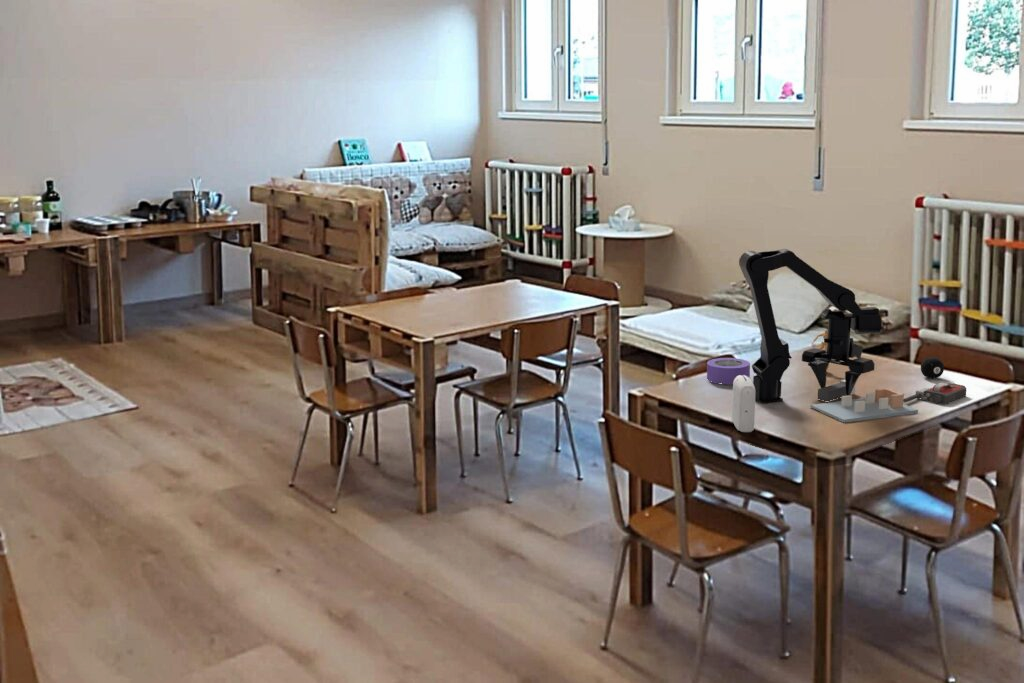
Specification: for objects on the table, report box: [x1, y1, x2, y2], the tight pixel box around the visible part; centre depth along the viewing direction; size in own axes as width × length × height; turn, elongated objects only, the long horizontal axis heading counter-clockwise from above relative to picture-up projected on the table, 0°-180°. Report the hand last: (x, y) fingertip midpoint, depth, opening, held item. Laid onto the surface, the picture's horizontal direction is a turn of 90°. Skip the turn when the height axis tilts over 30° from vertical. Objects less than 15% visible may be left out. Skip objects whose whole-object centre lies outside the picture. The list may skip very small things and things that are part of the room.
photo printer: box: [731, 375, 756, 433], centre depth 273 cm, size 10×4×12 cm, turn 179°
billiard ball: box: [920, 356, 945, 380], centre depth 315 cm, size 6×6×6 cm
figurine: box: [811, 329, 830, 370], centre depth 323 cm, size 8×6×12 cm
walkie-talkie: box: [903, 381, 967, 405], centre depth 294 cm, size 9×4×20 cm
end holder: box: [874, 387, 905, 408], centre depth 288 cm, size 3×7×3 cm, turn 20°
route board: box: [809, 391, 919, 424], centre depth 285 cm, size 22×14×3 cm, turn 110°
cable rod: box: [817, 378, 856, 401], centre depth 298 cm, size 12×3×3 cm, turn 130°
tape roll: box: [706, 357, 751, 385], centre depth 316 cm, size 12×12×5 cm
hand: (835, 392), depth 298 cm, fingers open, 7 cm apart
